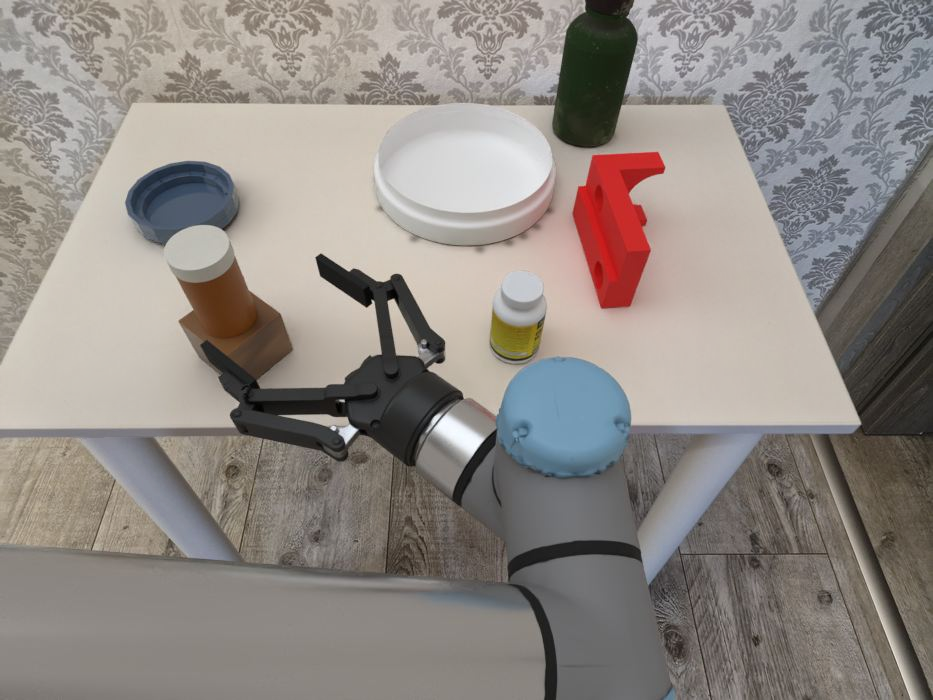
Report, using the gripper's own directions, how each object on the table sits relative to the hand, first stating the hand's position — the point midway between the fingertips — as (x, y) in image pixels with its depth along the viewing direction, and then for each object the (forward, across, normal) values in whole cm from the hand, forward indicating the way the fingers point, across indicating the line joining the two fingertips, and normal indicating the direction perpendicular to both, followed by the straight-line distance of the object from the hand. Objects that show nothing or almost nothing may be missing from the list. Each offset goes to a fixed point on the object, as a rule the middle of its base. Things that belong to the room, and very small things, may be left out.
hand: (267, 305), depth 58 cm
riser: (+10, 0, -16) cm, 19 cm away
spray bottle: (+3, +65, -17) cm, 67 cm away
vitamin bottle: (+10, 0, -10) cm, 14 cm away
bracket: (-17, +44, -17) cm, 50 cm away
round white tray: (+9, +42, -17) cm, 46 cm away
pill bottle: (-15, +22, -17) cm, 31 cm away
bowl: (+36, +11, -16) cm, 41 cm away
